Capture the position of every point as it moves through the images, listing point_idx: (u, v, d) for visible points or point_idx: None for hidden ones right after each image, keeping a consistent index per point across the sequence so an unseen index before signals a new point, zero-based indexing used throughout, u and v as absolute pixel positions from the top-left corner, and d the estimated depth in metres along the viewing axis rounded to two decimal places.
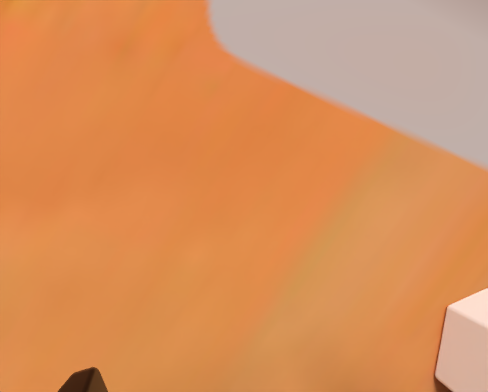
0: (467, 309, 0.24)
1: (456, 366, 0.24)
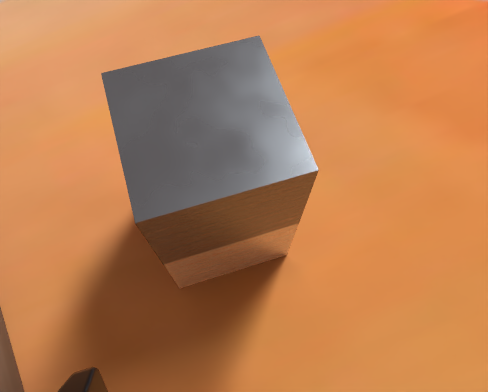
0: None
1: None
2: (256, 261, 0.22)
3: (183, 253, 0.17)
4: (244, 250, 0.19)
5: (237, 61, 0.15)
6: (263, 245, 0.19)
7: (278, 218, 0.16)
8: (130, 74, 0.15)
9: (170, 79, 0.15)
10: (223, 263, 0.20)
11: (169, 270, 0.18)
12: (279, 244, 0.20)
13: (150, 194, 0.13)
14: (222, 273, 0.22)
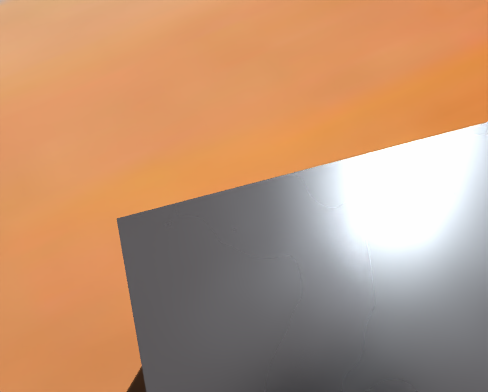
0: None
1: None
2: None
3: None
4: None
5: (479, 189, 0.06)
6: None
7: None
8: (195, 223, 0.05)
9: (307, 241, 0.05)
10: None
11: None
12: None
13: None
14: None
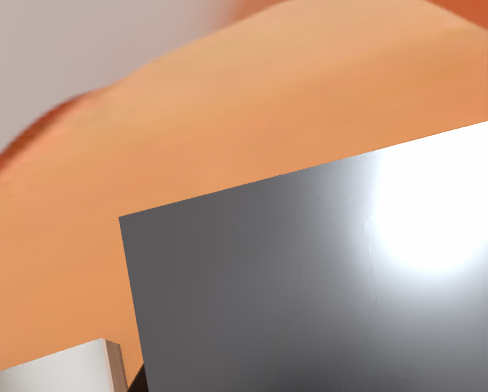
0: None
1: None
2: None
3: None
4: None
5: (480, 187, 0.06)
6: None
7: None
8: (197, 221, 0.06)
9: (308, 240, 0.05)
10: None
11: None
12: None
13: None
14: None
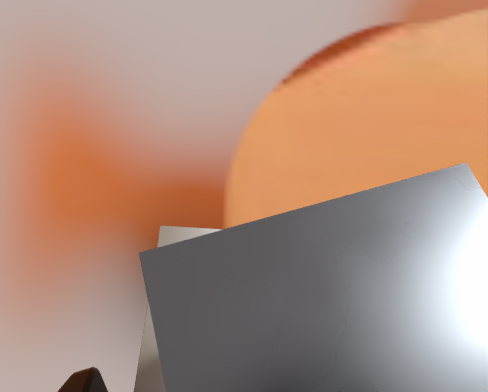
0: None
1: None
2: None
3: None
4: None
5: (433, 226, 0.07)
6: None
7: None
8: (203, 256, 0.07)
9: (293, 271, 0.07)
10: None
11: None
12: None
13: None
14: None
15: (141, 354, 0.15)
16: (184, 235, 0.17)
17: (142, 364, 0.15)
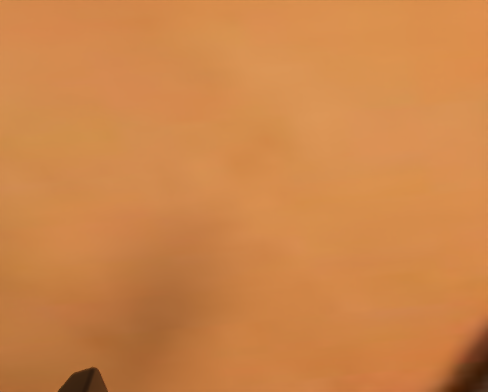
0: None
1: None
2: None
3: None
4: None
5: None
6: None
7: None
8: None
9: None
10: None
11: None
12: None
13: None
14: None
15: None
16: None
17: None
